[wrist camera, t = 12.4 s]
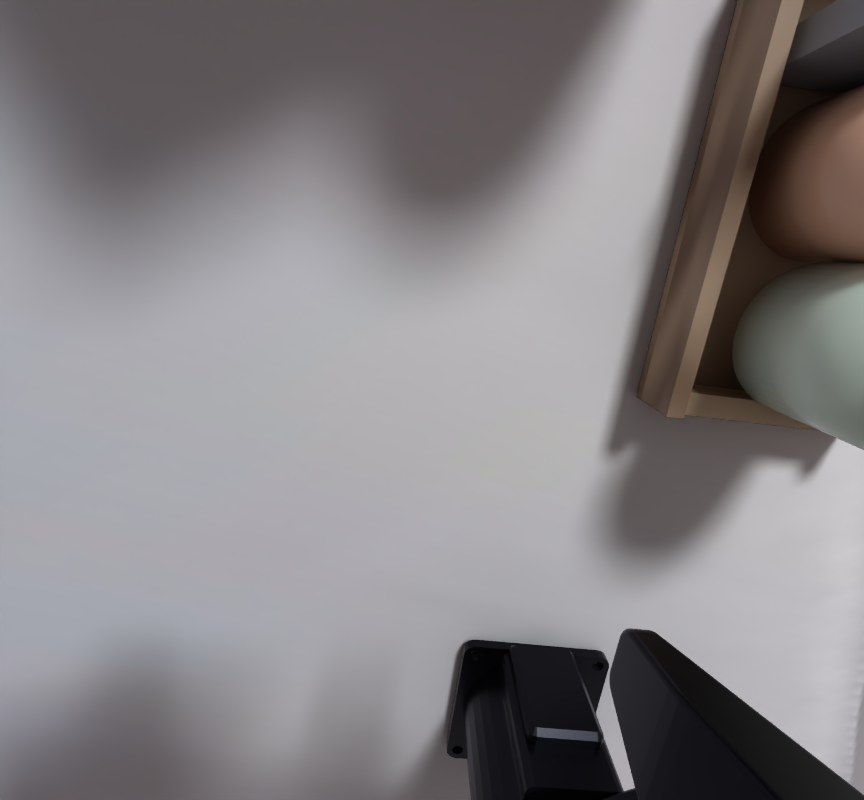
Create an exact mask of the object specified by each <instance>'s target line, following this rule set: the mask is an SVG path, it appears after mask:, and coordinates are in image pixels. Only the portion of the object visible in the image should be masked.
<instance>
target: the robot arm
mask: <svg viewBox="0 0 864 800" xmlns="http://www.w3.org/2000/svg"><path fill="white" fill-rule="evenodd" d="M474 651H477V653H474V654H473V653H472V652H474ZM595 662H598V663H596V664H594V663H595ZM608 668H609V663H608V661H607V659H606V657H605V655H604V653H603V652H601V651H598V650H587V649H576V648H564V647H553V646H542V645H530V644H519V643H507V642H496V641H484V640H470V641H468V642H467V643H466V644H465V645H464V647H463V651H462V657H461V662H460V668H459V674H458V679H457V685H456V691H455V696H454V702H453V708H452V713H451V719H450V725H449V730H448V736H447V753H448V754H449V755H450V756H451V757H454V758H463V759H467V760H468V771H469V783H470V794H471V800H864V795H863V794H862V793H860V792H859V791H858V790H856V789H855V788H854V787H853V786H851V785H850V784H849V783H848V782H846V781H845V780H844V779H842V778H841V777H840V776H839V775H837V774H836V773H835V772H834V771H832V770H831V769H830V768H828V767H827V766H826V765H825V764H823V763H822V762H821V761H819V760H818V759H817V758H816V757H814V756H813V755H812V754H810V753H809V752H808V751H807V750H805V749H804V748H803V747H801V746H800V745H799V744H798V743H796V742H795V741H794V740H793V739H791V738H790V737H789V736H787V735H786V734H785V733H784V732H782V731H781V730H780V729H778V728H777V727H776V726H775V725H773V724H772V723H771V722H769V721H768V720H767V719H766V718H764V717H763V716H762V715H761V714H759V713H758V712H757V711H755V710H754V709H753V708H752V707H750V706H749V705H748V704H746V703H745V702H744V701H743V700H741V699H740V698H739V697H737V696H736V695H735V694H734V693H732V692H731V691H730V690H728V689H727V688H726V687H725V686H723V685H722V684H721V683H720V682H718V681H717V680H716V679H714V678H713V677H712V676H711V675H709V674H708V673H707V672H705V671H704V670H703V669H702V668H700V667H699V666H698V665H696V664H695V663H694V662H693V661H691V660H690V659H689V658H688V657H686V656H685V655H684V654H682V653H681V652H680V651H679V650H677V649H676V648H675V647H673V646H672V645H671V644H670V643H668V642H667V641H666V640H664V639H663V638H662V637H661V636H659V635H658V634H657V633H655V632H653V631H650V630H641V629H630V628H629V629H626V630H624V631H623V632H622V634H621V636H620V639H619V643H618V646H617V650H616V653H615V657H614V660H613V664H612V667H611V671H610V689H611V693H612V697H613V701H614V705H615V709H616V713H617V717H618V721H619V725H620V729H621V733H622V737H623V741H624V745H625V749H626V753H627V757H628V761H629V765H630V769H631V773H632V777H633V781H634V785H635V788H634V789H630V790H627V791H623V788H622V785H621V783H620V780H619V777H618V775H617V772H616V769H615V767H614V764H613V761H612V759H611V756H610V753H609V751H608V748H607V745H606V743H605V740H604V736H603V732H602V729H601V727H600V724H599V721H598V719H597V716H596V710H597V707H598V703H599V700H600V696H601V693H602V689H603V686H604V682H605V679H606V675H607V672H608Z"/></svg>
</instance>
